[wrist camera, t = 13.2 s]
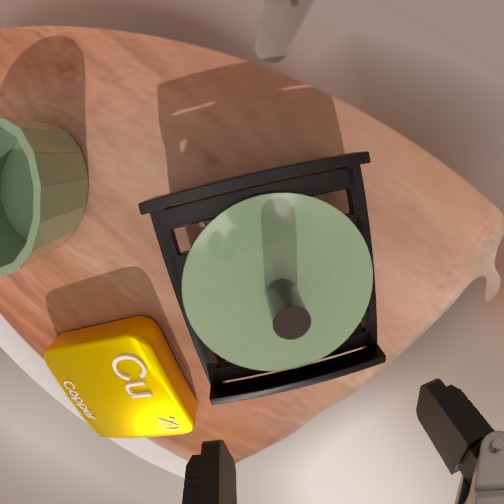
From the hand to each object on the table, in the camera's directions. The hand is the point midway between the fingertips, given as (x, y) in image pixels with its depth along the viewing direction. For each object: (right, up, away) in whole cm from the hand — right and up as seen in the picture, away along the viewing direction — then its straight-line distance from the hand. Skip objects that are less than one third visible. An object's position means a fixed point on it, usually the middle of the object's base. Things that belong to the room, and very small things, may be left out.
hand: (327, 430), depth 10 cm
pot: (-26, +14, +15) cm, 33 cm away
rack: (-1, +6, +19) cm, 20 cm away
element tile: (-18, -8, +23) cm, 30 cm away
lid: (-1, +4, +13) cm, 14 cm away
